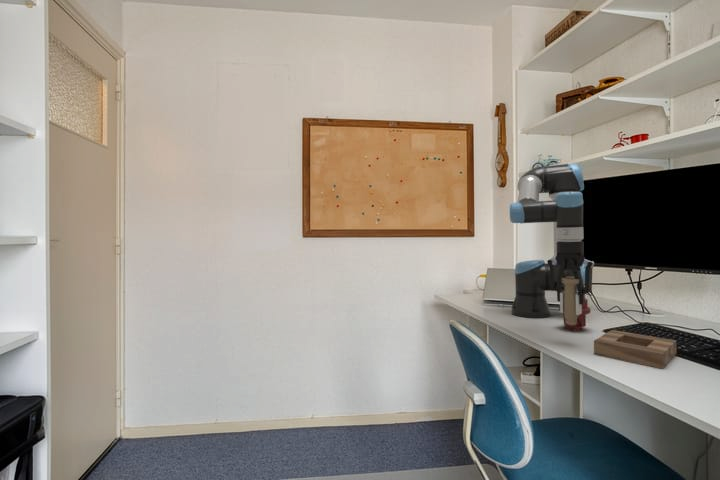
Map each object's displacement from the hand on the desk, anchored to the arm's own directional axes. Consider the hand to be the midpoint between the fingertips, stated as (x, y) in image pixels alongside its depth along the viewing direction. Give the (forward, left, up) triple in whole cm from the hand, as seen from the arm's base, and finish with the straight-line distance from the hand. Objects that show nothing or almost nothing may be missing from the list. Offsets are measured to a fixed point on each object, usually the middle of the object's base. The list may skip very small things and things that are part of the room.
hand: (570, 312), depth 117 cm
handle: (0, 0, -4) cm, 4 cm away
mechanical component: (-18, -6, -10) cm, 22 cm away
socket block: (-2, +16, -10) cm, 19 cm away
